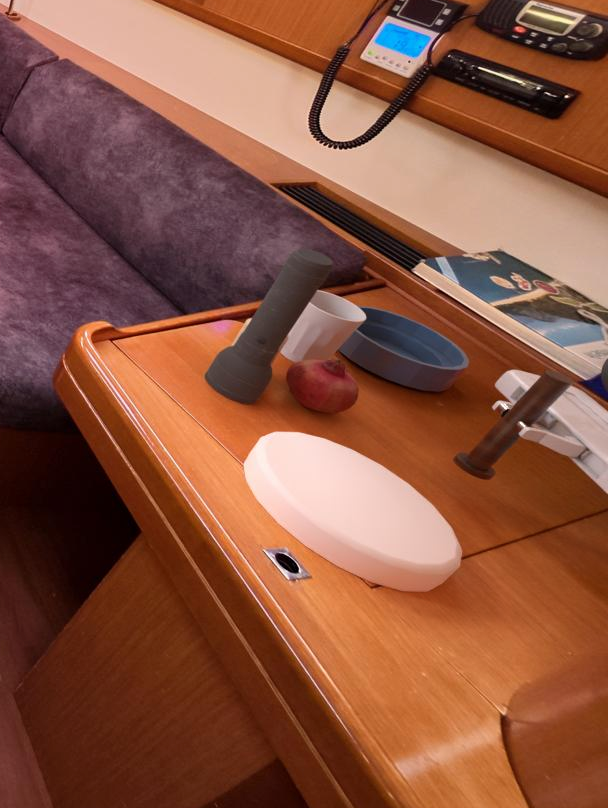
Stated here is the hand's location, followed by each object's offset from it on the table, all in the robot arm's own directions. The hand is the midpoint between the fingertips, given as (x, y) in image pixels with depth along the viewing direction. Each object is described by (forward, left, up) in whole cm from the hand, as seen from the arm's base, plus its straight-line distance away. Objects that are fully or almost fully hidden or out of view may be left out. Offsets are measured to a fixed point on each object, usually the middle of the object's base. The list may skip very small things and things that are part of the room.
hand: (508, 418), depth 84 cm
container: (+13, +17, -14) cm, 26 cm away
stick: (-1, 0, -10) cm, 10 cm away
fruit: (+14, -6, -14) cm, 21 cm away
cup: (+14, -20, -14) cm, 28 cm away
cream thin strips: (+22, -10, -14) cm, 28 cm away
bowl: (+2, -29, -14) cm, 32 cm away
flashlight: (+24, -2, -14) cm, 28 cm away
